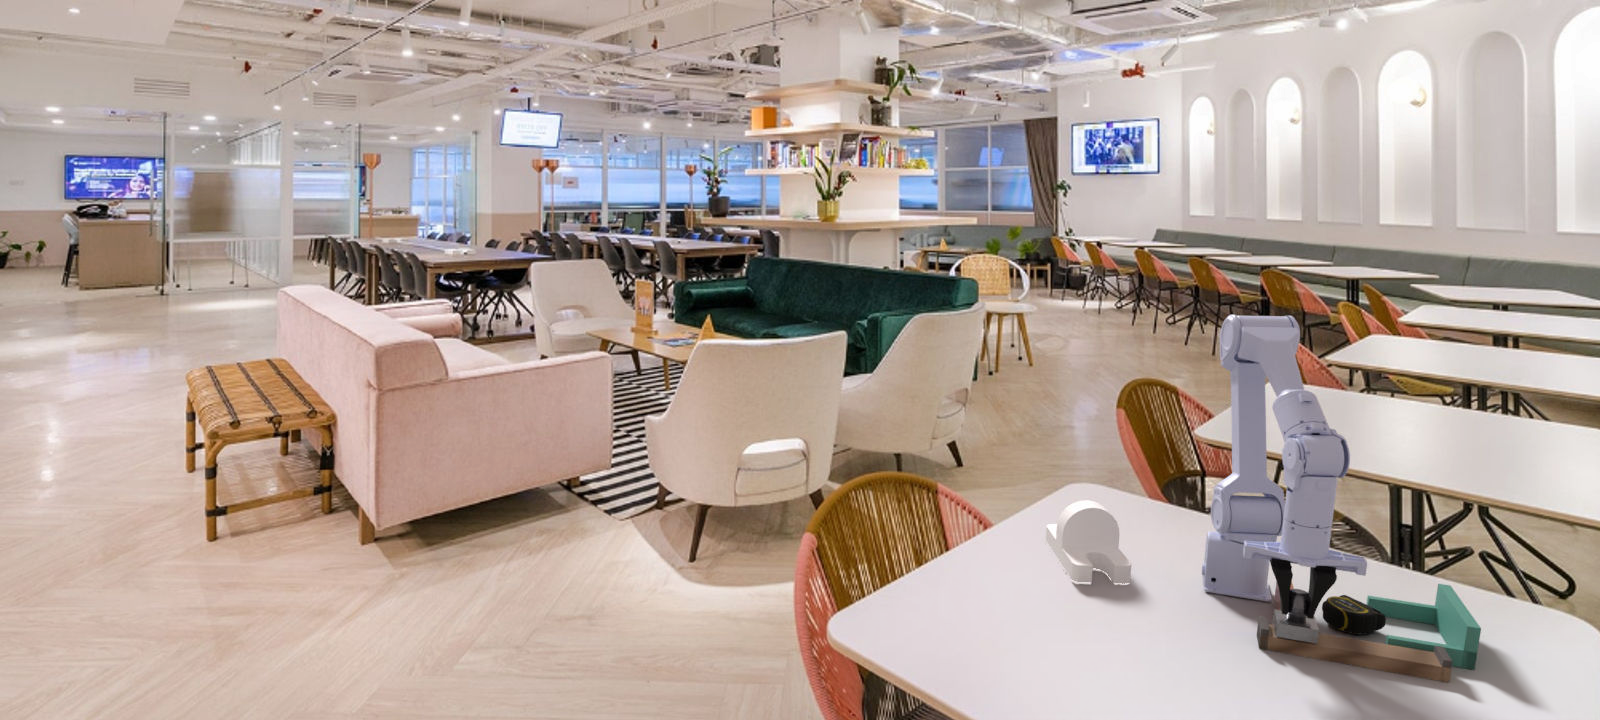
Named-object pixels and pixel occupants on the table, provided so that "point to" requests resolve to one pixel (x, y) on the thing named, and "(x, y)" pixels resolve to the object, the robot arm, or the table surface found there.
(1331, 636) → the rail
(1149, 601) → the table surface
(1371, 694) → the table surface
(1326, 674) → the table surface
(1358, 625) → the tape measure
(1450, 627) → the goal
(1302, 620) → the rod slider
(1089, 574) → the white slotted holder
